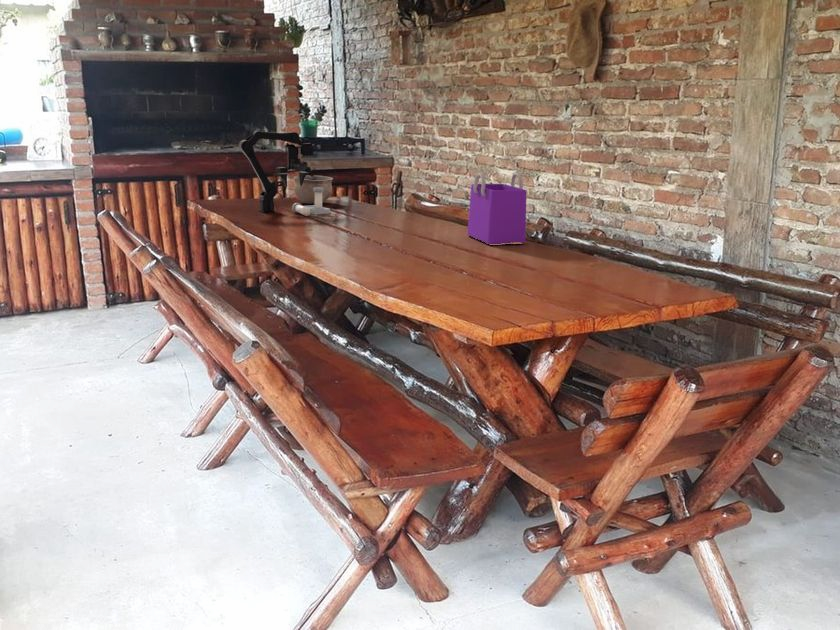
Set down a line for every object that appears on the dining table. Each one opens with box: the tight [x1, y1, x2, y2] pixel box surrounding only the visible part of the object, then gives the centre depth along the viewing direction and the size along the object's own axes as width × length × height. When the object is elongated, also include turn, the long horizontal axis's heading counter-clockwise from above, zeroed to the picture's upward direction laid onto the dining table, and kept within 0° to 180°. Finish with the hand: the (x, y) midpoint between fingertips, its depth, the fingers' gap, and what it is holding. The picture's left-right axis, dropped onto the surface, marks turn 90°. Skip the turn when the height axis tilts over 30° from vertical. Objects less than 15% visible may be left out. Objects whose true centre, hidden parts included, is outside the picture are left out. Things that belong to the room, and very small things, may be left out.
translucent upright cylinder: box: [313, 187, 323, 209], centre depth 432 cm, size 5×5×12 cm
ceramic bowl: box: [293, 174, 334, 205], centre depth 468 cm, size 22×22×15 cm
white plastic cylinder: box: [291, 202, 311, 217], centre depth 427 cm, size 12×5×5 cm
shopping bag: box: [467, 171, 527, 244], centre depth 362 cm, size 28×22×30 cm
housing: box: [303, 204, 331, 216], centre depth 436 cm, size 16×9×2 cm, turn 40°
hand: (293, 186), depth 436 cm, fingers open, 9 cm apart
